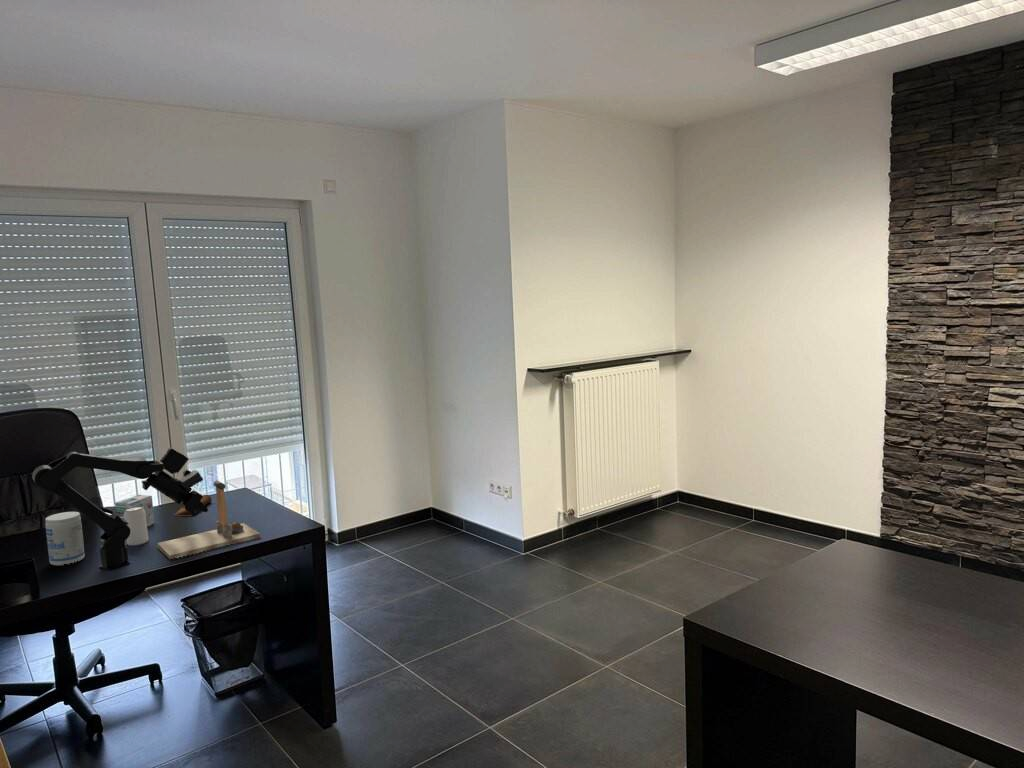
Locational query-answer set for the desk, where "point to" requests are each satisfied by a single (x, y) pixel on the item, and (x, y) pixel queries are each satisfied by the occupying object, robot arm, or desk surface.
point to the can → (136, 525)
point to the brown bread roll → (182, 511)
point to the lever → (221, 502)
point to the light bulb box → (137, 501)
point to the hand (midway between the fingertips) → (207, 510)
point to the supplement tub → (64, 538)
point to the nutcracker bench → (208, 540)
